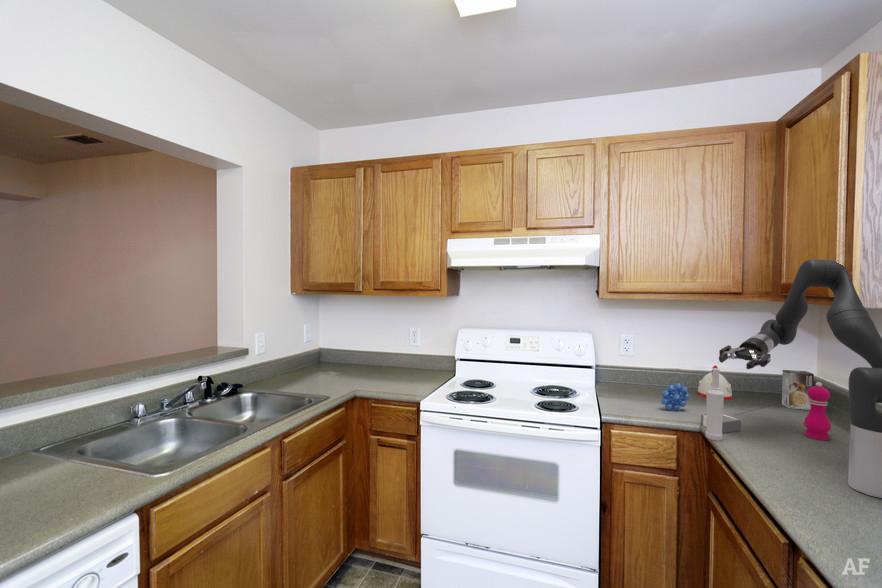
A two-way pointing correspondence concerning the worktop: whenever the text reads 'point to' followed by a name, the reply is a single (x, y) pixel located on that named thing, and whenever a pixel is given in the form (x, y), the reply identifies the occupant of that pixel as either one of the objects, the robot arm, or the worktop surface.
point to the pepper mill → (817, 413)
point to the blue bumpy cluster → (675, 397)
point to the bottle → (714, 409)
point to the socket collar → (725, 423)
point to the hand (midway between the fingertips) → (733, 363)
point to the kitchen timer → (707, 384)
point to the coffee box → (796, 389)
